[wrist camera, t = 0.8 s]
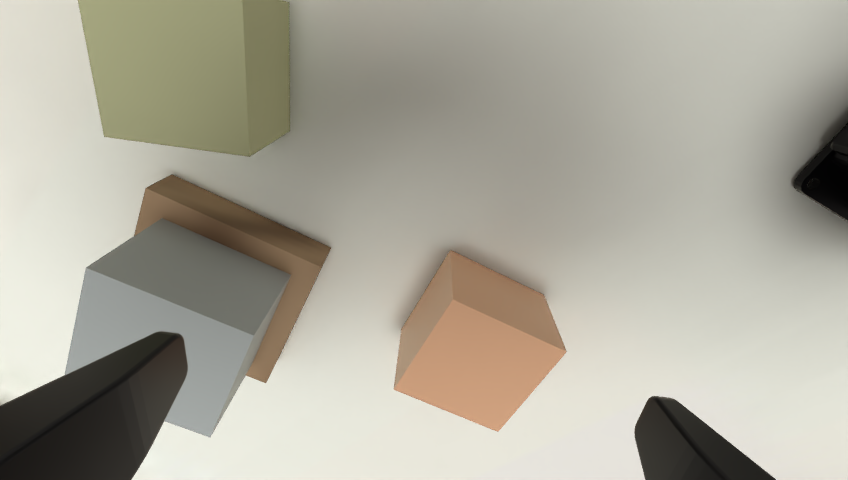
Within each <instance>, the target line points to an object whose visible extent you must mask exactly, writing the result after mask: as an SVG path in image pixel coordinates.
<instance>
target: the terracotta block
mask: <svg viewBox="0 0 848 480" xmlns="http://www.w3.org/2000/svg"><path fill="white" fill-rule="evenodd" d="M566 352H567V351H566V349H565V346H564V344H563V341H562V339H561V336H560V334H559V331H558V329H557V326H556V324H555V321H554V319H553V316H552V314H551V311H550V309H549V306H548V304H547V301H546V299H545V296H544V295H543V294H541V293H539V292H537V291H535V290H533V289H530V288H528V287H526V286H524V285H522V284H520V283H518V282H516V281H514V280H512V279H510V278H508V277H506V276H503V275H501V274H499V273H497V272H495V271H493V270H491V269H489V268H487V267H485V266H483V265H481V264H479V263H476V262H474V261H472V260H470V259H468V258H466V257H464V256H462V255H460V254H458V253H456V252H454V251H452V250H450V251H449V253H448V254H447V256H446V258H445V259H444V261H443V263H442V264H441V266H440V267H439V269H438V271H437V272H436V274H435V276H434V277H433V279H432V280H431V282H430V284H429V285H428V287H427V289H426V290H425V292H424V293H423V295H422V297H421V298H420V300H419V301H418V303H417V305H416V306H415V308H414V310H413V311H412V313H411V314H410V316H409V318H408V319H407V321H406V323H405V324H404V326H403V327H402V329H401V336H400V344H399V352H398V360H397V367H396V375H395V383H394V390H396V391H399V392H401V393H404V394H406V395H409V396H411V397H414V398H416V399H418V400H421V401H423V402H426V403H428V404H431V405H433V406H436V407H438V408H441V409H443V410H446V411H448V412H451V413H453V414H455V415H458V416H460V417H463V418H465V419H468V420H470V421H473V422H475V423H478V424H480V425H483V426H485V427H487V428H490V429H492V430H495V431H497V432H498V431H499V430H500V429H501V428H502V427H503V426H504V424H505V423H506V422H507V421H508V420H509V419H510V417H511V416H512V415H513V414H514V413H515V412H516V410H517V409H518V408H519V407H520V406H521V405H522V403H523V402H524V401H525V400H526V399H527V398H528V396H529V395H530V394H531V393H532V392H533V391H534V389H535V388H536V387H537V386H538V385H539V384H540V382H541V381H542V380H543V379H544V378H545V377H546V375H547V374H548V373H549V372H550V371H551V370H552V368H553V367H554V366H555V365H556V364H557V363H558V361H559V360H560V359H561V358H562V357H563V356H564V354H565V353H566Z"/></svg>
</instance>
